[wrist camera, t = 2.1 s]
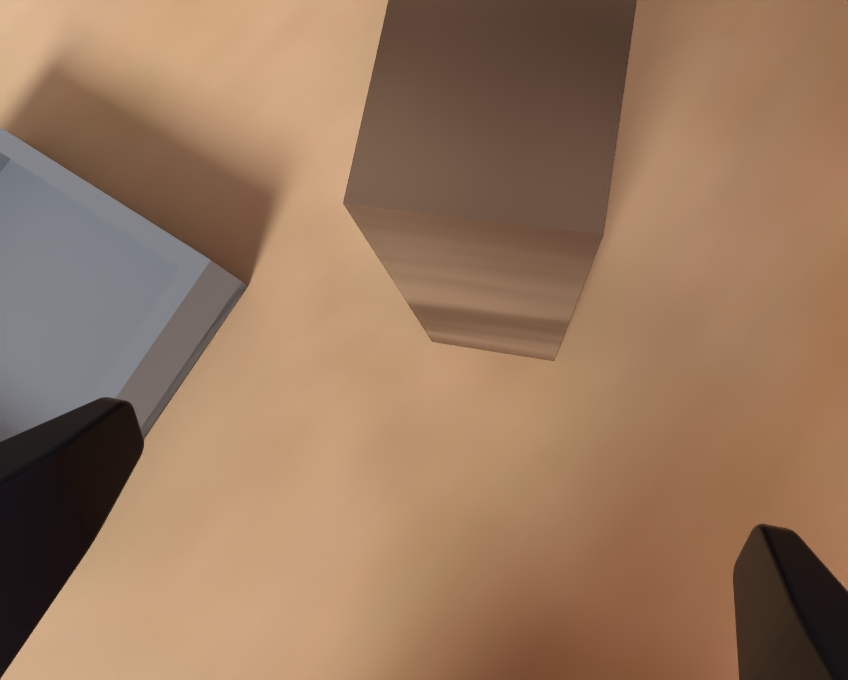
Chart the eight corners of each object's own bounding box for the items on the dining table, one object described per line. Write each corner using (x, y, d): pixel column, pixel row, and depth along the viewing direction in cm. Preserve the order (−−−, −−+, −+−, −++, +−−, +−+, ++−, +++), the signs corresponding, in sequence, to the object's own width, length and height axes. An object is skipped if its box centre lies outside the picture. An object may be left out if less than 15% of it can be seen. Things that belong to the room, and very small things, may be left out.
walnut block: (553, 360, 21) (602, 234, 10) (432, 341, 22) (343, 203, 10) (574, 228, 22) (641, -34, 11) (456, 214, 23) (398, -44, 11)
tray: (247, 285, 24) (210, 260, 21) (49, 578, 22) (-21, 594, 19) (20, 141, 27) (-40, 102, 24) (-166, 393, 25) (-255, 383, 22)
